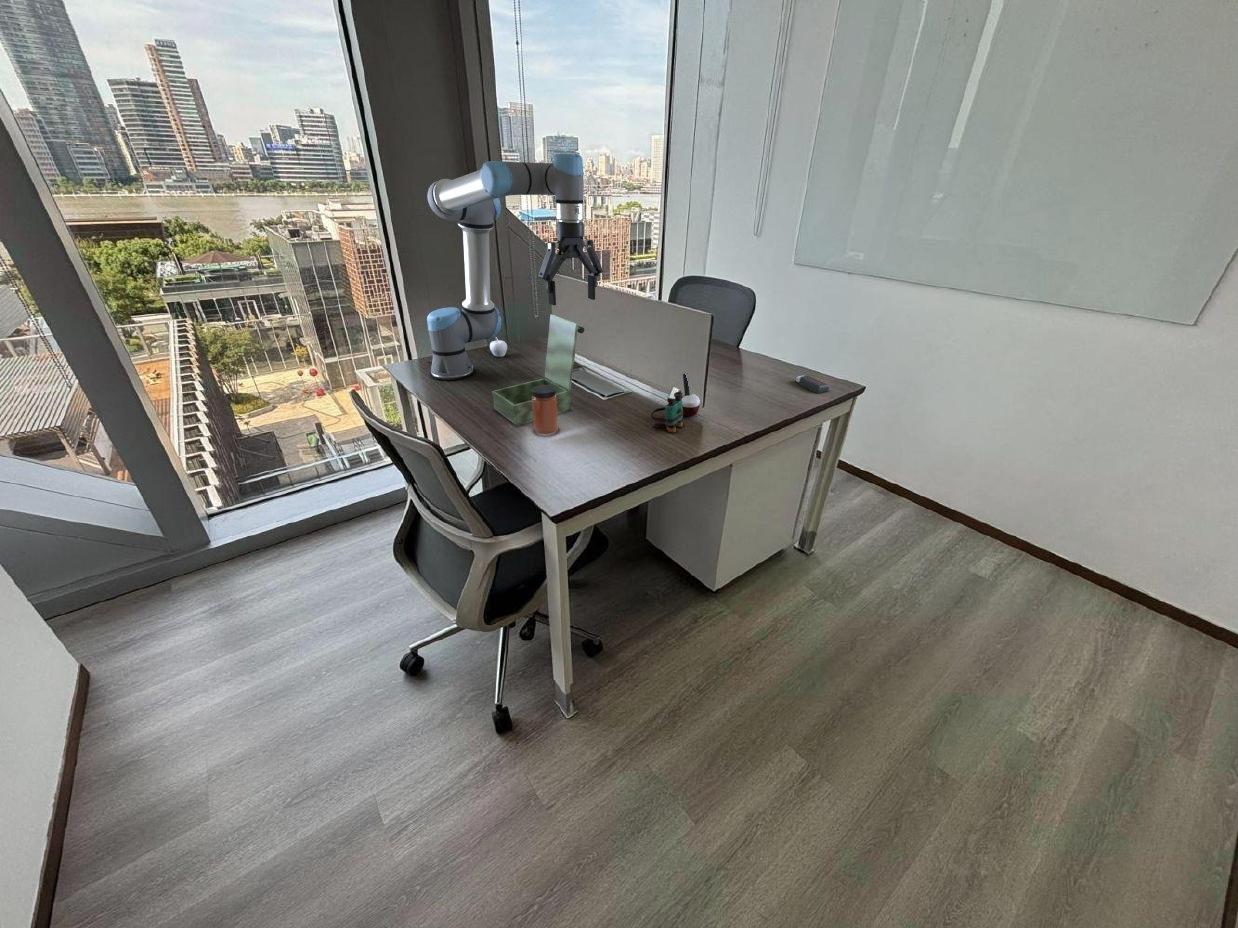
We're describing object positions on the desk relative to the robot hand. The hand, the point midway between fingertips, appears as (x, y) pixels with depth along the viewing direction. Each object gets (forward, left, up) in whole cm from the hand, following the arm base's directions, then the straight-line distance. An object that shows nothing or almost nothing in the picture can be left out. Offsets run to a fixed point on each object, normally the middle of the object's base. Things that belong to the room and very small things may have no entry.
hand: (572, 301), depth 143 cm
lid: (-6, -1, -16) cm, 18 cm away
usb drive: (+36, +80, -34) cm, 94 cm away
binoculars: (+28, +14, -34) cm, 46 cm away
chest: (-6, -13, -34) cm, 37 cm away
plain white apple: (-63, +4, -34) cm, 72 cm away
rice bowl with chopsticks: (+26, +26, -34) cm, 50 cm away
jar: (+9, -17, -34) cm, 39 cm away
